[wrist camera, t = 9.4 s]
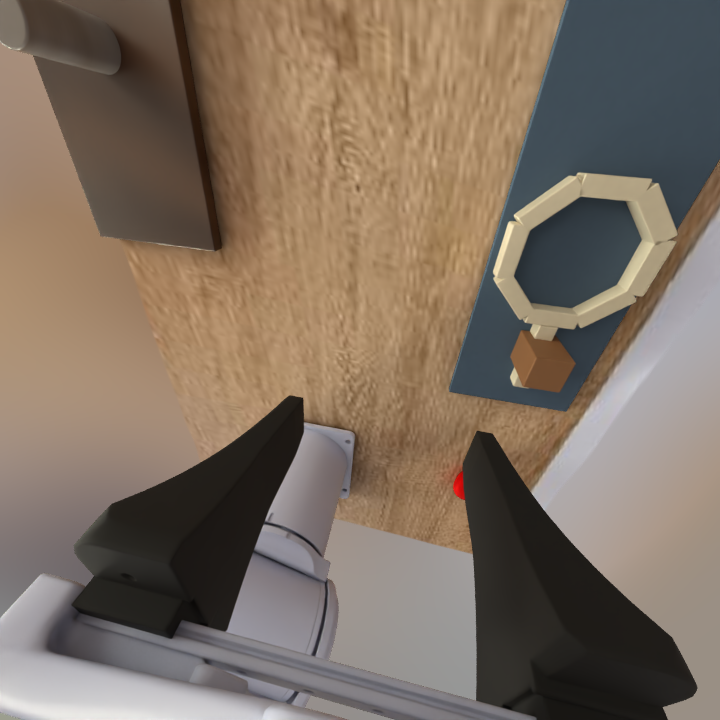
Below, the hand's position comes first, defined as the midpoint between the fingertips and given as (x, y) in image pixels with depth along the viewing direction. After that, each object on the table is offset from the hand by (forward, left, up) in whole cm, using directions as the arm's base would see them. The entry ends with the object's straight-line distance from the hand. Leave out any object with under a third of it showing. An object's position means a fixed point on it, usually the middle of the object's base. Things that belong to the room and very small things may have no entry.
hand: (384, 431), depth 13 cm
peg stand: (+11, +16, -9) cm, 21 cm away
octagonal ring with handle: (+4, -8, -9) cm, 13 cm away
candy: (-13, -8, -10) cm, 18 cm away
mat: (+6, -8, -9) cm, 14 cm away
